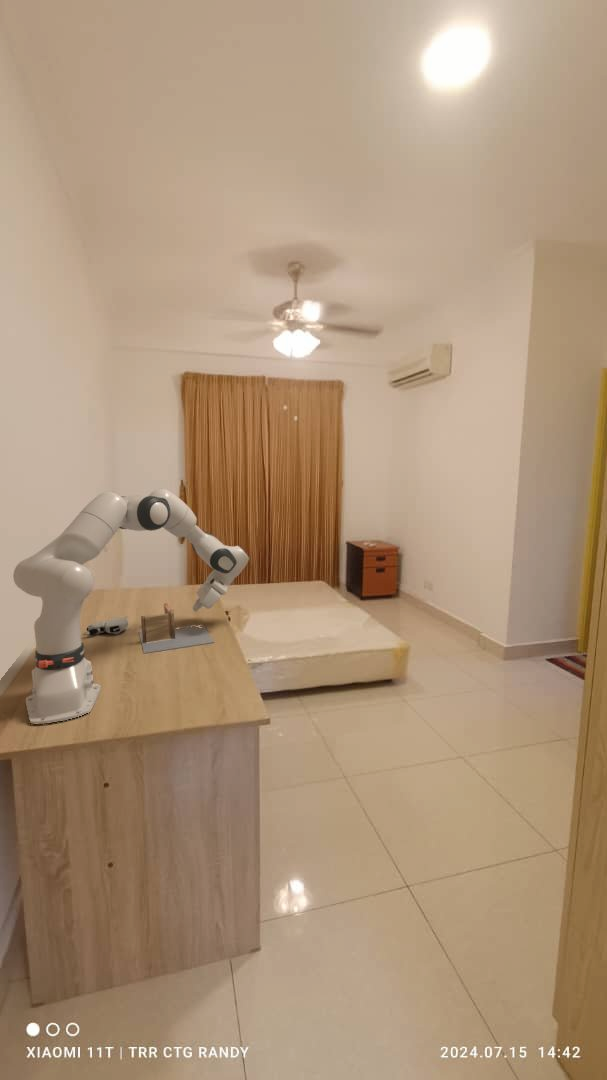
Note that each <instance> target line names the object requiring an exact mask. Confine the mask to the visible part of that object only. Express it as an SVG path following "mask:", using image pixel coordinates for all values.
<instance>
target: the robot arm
mask: <svg viewBox="0 0 607 1080" xmlns="http://www.w3.org/2000/svg"><path fill="white" fill-rule="evenodd" d="M197 520H198V519H197V516H196V515H195V513H194V512H193V510H192V509H191V508H190V506H189V505H187V504H186V503H185V502H184V501H183V500H182V499H181V498H179V496H177V495H175V494H174V493H173V492H172V491H170V490H168V489H166V488H157V489H155V490H153V491H152V492H150V494H149V495H147V496H146V495H137V494H136V495H135V494H134V495H133V494H132V495H127V496H124V495H123V496H121V495H120V494H118V493H115V492H112V491H104V492H102V493H100V494H98V495H97V496H96V497H94V498H93V499H92V500H90V502H88V504H87V505H85V507H84V508H83V509H82V510H81V511H80V512H79V513H78V515H76V517H75V518H74V519H73V520H72V521H71V522H70V524H69V525H68V526H67V527H66V528H65V529H64V531H63V532H62V533H61V534H60V535H59V536H57V537H56V538H55V539H53V540H52V541H51V542H50V543H48V544H47V545H46V546H44V547H43V548H42V549H40V550H39V551H37V552H36V553H35V554H33V555H31V556H29V557H27V558H24V559H22V560H21V561H19V562H18V564H17V565H16V566H15V567H14V571H13V577H12V578H13V582H14V584H15V586H16V587H17V588H18V589H20V590H21V591H23V592H24V593H26V594H28V595H29V596H32V597H33V596H34V597H39V598H41V601H42V607H41V611H40V615H39V617H38V618H37V619H36V620H35V621H34V625H33V628H34V636H35V637H34V639H35V648H36V649H35V652H34V661H35V667H34V668H33V669H32V670H31V677H32V678H31V679H32V687H33V688H31V689H30V694H31V695H28V696H27V697H26V698H25V707H26V706H27V707H26V712H27V711H28V712H27V716H28V715H29V717H28V721H29V720H30V722H32V723H47V722H54V721H63V720H67V721H69V720H68V719H71V720H73V719H72V718H75V717H78V718H80V717H79V716H81V717H83V716H82V715H84V714H86V713H88V714H90V713H91V712H90V711H92V710H91V709H93V707H94V705H95V703H96V700H97V699H98V696H99V694H100V692H101V689H102V688H101V687H102V686H101V684H99V683H94V678H93V677H94V676H93V669H92V662H91V661H90V660H88V659H86V657H85V647H84V643H83V642H82V631H81V629H82V628H81V612H82V608H83V605H84V602H85V600H86V598H88V596H89V595H90V594H91V593H92V591H93V589H94V583H95V579H94V576H93V572H92V571H91V569H90V568H88V567H86V566H84V564H85V563H88V562H89V561H93V560H94V559H96V558H97V557H98V556H99V555H100V554H101V553H102V551H103V550H104V549H105V547H106V546H107V545H108V543H109V542H110V541H111V540H112V538H113V537H114V535H115V534H116V532H118V529H121V530H129V531H130V530H131V531H132V530H133V531H134V532H135V531H136V532H141V531H142V532H143V531H149V532H151V531H157V530H160V529H162V528H163V529H164V530H165V531H167V532H168V533H170V534H171V535H172V536H174V537H176V538H185V539H186V540H187V541H188V542H190V544H191V546H192V550H193V552H194V554H195V555H196V556H198V557H199V558H200V559H202V560H203V562H205V563H206V564H207V565H208V566H209V567H210V568H211V569H213V570H212V571H211V572H210V573H209V574H208V575H207V576H206V578H205V579H206V580H205V582H204V583H203V584H202V585H200V587H199V588H198V589H197V591H196V594H197V597H198V598H197V599H196V601H195V603H194V605H193V606H192V607H191V608H192V610H193V612H196V613H197V611H199V610H200V609H201V608H202V607H204V608H205V609H207V610H209V609H211V608H212V607H213V606H214V605H215V604H216V603H217V602H218V601H219V600H220V599H221V598H222V596H225V595H226V593H227V592H228V588H229V587H230V586H231V584H232V583H233V581H234V580H235V578H236V577H238V576H239V575H240V574H241V573H242V571H243V570H244V569H245V567H246V566H247V564H248V563H249V560H250V558H249V555H248V553H247V552H246V551H245V550H244V548H242V547H241V546H240V545H235V546H234V545H233V546H232V545H231V546H229V545H226V544H224V543H222V541H220V540H219V539H218V538H217V537H216V536H215V535H214V534H213V533H210V532H208V531H207V532H206V531H203V530H202V529H201V528H200V527H199V526H198V525H197V522H198V521H197ZM89 712H90V713H89ZM86 715H87V714H86ZM84 716H85V715H84ZM75 719H76V718H75ZM41 720H42V721H41ZM30 722H29V723H30ZM63 722H64V721H63Z"/></svg>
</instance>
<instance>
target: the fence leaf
mask: <svg viewBox="0 0 607 1080" xmlns="http://www.w3.org/2000/svg"><path fill="white" fill-rule="evenodd" d="M163 609H164V614H168V625H169V635H170V637H171V634H170V616H169V610H172V609H171V608H170V606H169V604H168V603H164V604H163Z"/></svg>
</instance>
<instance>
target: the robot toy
mask: <svg viewBox="0 0 607 1080" xmlns="http://www.w3.org/2000/svg"><path fill="white" fill-rule="evenodd" d="M128 617H129V615H126V616H124V617H123V616H120V617H119V616H118V617H114V618H113V617H112V618H110V619H109V620H107V621H106V622H105V621H96V622H93V623H91V624H89V625H88V626H87V627H86V631H85V632H84V635H85V636H88V635H90V636H92V635H100V634H104V633H105V632H106V633H108V634H114V635H119V634H120V633H121V632H123V631H125V630H126V629H127V628H128V626H129V621H128Z"/></svg>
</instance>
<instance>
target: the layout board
mask: <svg viewBox="0 0 607 1080" xmlns="http://www.w3.org/2000/svg"><path fill="white" fill-rule="evenodd" d="M199 624H200V625H201V626H200V627H202V628H199V627H196V626H198V625H196V626H192V625H193V624H191V625H181V626H180V627H181V628H179V629H175V639H171V637H170V635H169V639H167V640H161V641H154V642H147V643H143V638H142V631H140V632H138V634H139V637H140V643H141V646H142V650H143V654H144V655H145V654H152V653H157V652H163V651H165V652H166V651H170V650H177V649H183V648H189V647H196V646H197V647H198V646H203V645H204V646H205V645H209V644H215V642H214V640H213V638H212V637H211V635H210V633H209V631H207V629H206V627H205V626H204V624H203V623H199ZM191 626H192V627H191Z"/></svg>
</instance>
